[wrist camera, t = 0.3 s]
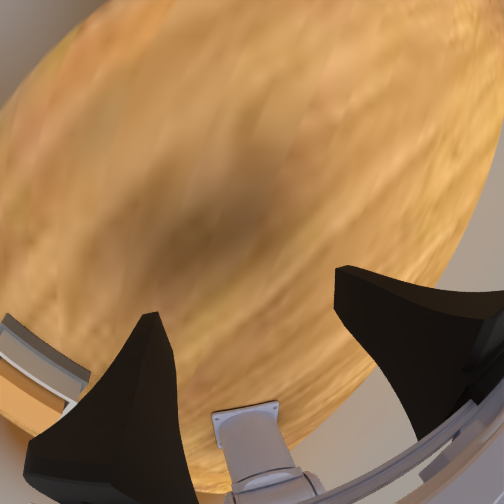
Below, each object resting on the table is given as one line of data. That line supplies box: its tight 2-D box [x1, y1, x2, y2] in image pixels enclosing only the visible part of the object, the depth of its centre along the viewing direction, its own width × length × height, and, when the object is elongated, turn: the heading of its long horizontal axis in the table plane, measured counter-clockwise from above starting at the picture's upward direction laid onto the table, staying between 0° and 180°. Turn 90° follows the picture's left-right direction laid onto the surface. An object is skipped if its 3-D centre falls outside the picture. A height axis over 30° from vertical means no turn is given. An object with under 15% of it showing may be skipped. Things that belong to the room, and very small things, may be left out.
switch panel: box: [0, 313, 91, 421], centre depth 17 cm, size 10×10×4 cm
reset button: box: [0, 358, 65, 434], centre depth 15 cm, size 7×7×2 cm
